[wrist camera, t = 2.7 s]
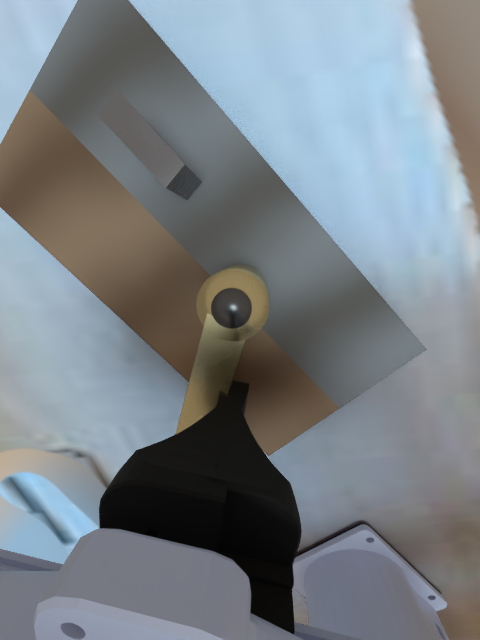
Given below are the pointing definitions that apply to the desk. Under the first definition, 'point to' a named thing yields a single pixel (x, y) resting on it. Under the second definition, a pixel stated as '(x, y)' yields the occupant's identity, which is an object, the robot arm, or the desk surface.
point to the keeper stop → (148, 146)
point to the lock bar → (223, 335)
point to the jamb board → (189, 225)
